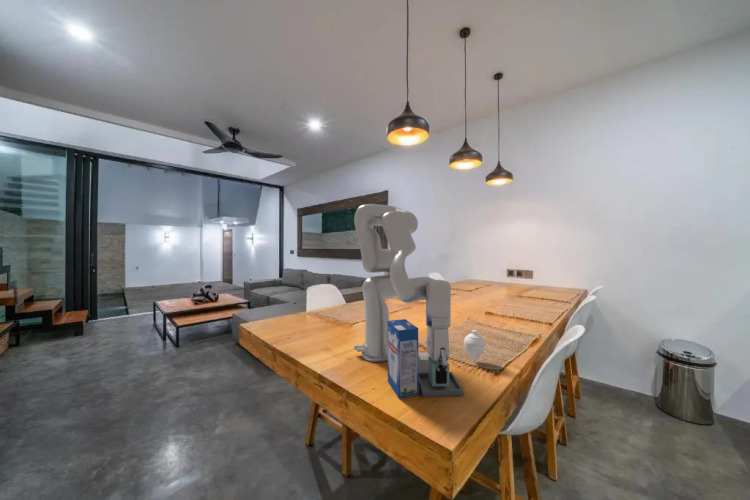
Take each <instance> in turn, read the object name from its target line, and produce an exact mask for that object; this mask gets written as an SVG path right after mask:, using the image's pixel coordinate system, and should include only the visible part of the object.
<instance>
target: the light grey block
mask: <svg viewBox="0 0 750 500" xmlns="http://www.w3.org/2000/svg"><path fill="white" fill-rule="evenodd" d="M428 357H430V356H429V354H428V352H418V368H419V373H428Z"/></svg>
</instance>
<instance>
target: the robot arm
mask: <svg viewBox="0 0 750 500" xmlns="http://www.w3.org/2000/svg"><path fill="white" fill-rule="evenodd" d="M418 221H419V220H418V218H417V217H416V215H415V214H414V213H413V212H411V211H408V210H405V209H402V208H400V207H396V206H393V205H385V204H384V205H383V204H376V203H366V204H363V205H360V206H358V208H357V209H356V211H355V214H354V221H353V222H354V228H355V232H356V234H357V236H358V237H357V238H358V240H359V247H360V255H361V262H362V263H361V264H362V267H363V270H364V271H365V272H366V273H368V274H375V273H377V274H378V273H383V275H375V276H374V275H373V276H370V277H368V278H366V279H365V280H364V281H363V283H362V286H361V287H362V289H361V291H362V295H363V303H364V321H365V322H364V323H365V325H364V327H365V328H364V329H365V331H364V334H365V336H364V337H365V341H364V343H362V344H354V345H353V347H354V348H353V350H354V351H356V353H361V357H362V359H364V360H366V361H368V362H372V363H380V362H381V363H382V362H386V361H387V362H388V347H387V321H390V311H389V307H388V305H387V304H386V302H385V300H389V299H392V298H393V299H394V298H398V299H399V300H400V301H401V302H403V303H407V304H409V303H414V302H420V301H425V326H426V347H425V348H426V353H428V354H429V356H430V358H431V359H432V360H433V361H434V362H435V361H436V365H437V370H436V383H437V384H446V383H447V365H448V364H449V363H448V364H447V362H448V361H449V359H450V337H449V335H450V334H449V328H450V327H451V326H452V324H451V323H452V321H451V316H452V313H451V311H452V310H451V309H452V308H451V307H452V299H451V297H452V293H451V292H452V288H451V287H452V286H451V283H450V282H449V281H447V280H443V279H434V278H431V277H428V276H420V277H411V278H409V275H408V273H407V271H406V265H405V263H406V259H407V257H408V256H410V255H412V254H413V253H414V252H415V251H416V248H417V247H416V243H415V240H414V238H413V236H412V234H414V233H415V232H416V231H417V229H418V226H419V222H418ZM375 226H376V227H382V229H383V232H384V234H385V235H384V236H385V237H386V240H387V242H388V246H389V248H383V247H382V242H381V237H380V235H379V233H378V232H377V230H376V229H375V228H374V227H375ZM438 358H441V360H438ZM439 362H442V363H441V364H440V366H439Z"/></svg>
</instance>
